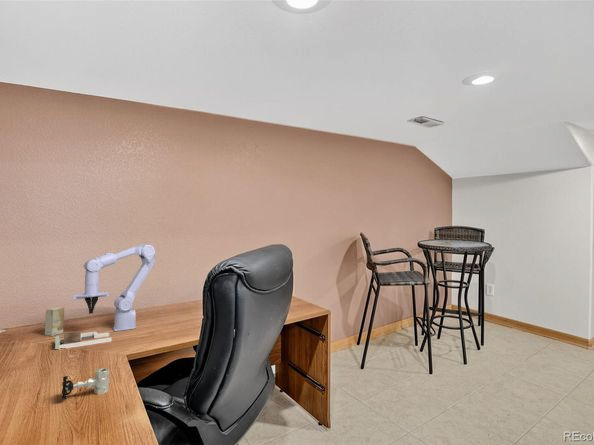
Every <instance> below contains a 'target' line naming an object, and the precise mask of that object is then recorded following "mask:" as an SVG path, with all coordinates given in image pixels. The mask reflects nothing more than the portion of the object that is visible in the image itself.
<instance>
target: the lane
mask: <svg viewBox="0 0 594 445" xmlns="http://www.w3.org/2000/svg"><path fill="white" fill-rule="evenodd" d="M80 333H81V340H84V341H80V342H77V343H70V344H64V338H61V337H60V335H55V340H54V344H55V345H54V346H55V347H54V350H55V349H59V350H61V349H60V348H66V349H70V348H77V347H84V346H90V345H97V344H104V343H110V342H112V338H113V337H110V332H102V333H98V331H90V332H80ZM93 338H94V339H93ZM86 339H90V340H86Z"/></svg>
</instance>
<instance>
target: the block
mask: <svg viewBox="0 0 594 445" xmlns="http://www.w3.org/2000/svg"><path fill="white" fill-rule="evenodd" d="M81 333H82V332H81V331H73V332H66V333H63V339H64V343H63V344H70V343H77V342H81V341H82V339H81Z"/></svg>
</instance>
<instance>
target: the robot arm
mask: <svg viewBox="0 0 594 445" xmlns="http://www.w3.org/2000/svg"><path fill="white" fill-rule="evenodd" d="M132 255H136V256H139V258H140V260H141V263H142V264H141V265H140V266H139V269H138V270H137V271H136V273H135V274H134V276H133V278H132V280H131V281H130V282H129V284H128V285H127V287H126V288H125V290H124V291H122V292H121V293H120V294H119V295H118V296H117V297H116V298H115V299H114V302H113V305H114V307H115V310H114V326H112V330H113V331H114V332H120V331H126V330H127V331H128V330H134V329H136V323H137V322H136V321H137V320H136V319H137V313H136V309H132V308H133V304H134V301H135V298H136V297H135V296H136V294H137V292H138V290H140V287H141V286H142V284H143V283H144V281H145V279H146V278H147V277H148V275H149V273H150V272H151V271H152V268H153V267H154V264H155V255H156V250H155V247H154V246H153V245H151V244H144V243H142V244H139V245H138V244H137V245H134V246H131V247H129V248H126V249H123V250H121V251H118V252H116V253H112V252H106V253H104V254H103V255H100V256H95V257H94V259H93V258H92V259H91V258H90V259H88V260H86V261H85V262H84V264H83V268H84V269H85V275H84V293H78V294H73V296H72V300H82V299H84V301H85V303H86V304H87V305H86V306H87V308H88V314H90V315H91V314H94V309H95V306H96V305H97V302H98V300H99V298H106V297H107V298H108V297H110V292H107V291H105V292H100V291H99V290H100V287H99V286H100V284H99V283H100V270H101V269H103V268H106V267H109V266H112V265H114V264H116V262H117V261H118V260H121V259H123V258H126V257H127V258H128V257H130V256H132Z"/></svg>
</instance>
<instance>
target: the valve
mask: <svg viewBox="0 0 594 445" xmlns="http://www.w3.org/2000/svg"><path fill="white" fill-rule="evenodd" d="M109 375H110V369H109V368H107V367H101V368H98V369H96V370H95V371H94V378H93V377H89V378H87V380H85V381H78V382H77V383H74V382H73V381H72V380H68V378H69V377H68V375H65V376H63V377H62V385H61V386H62V390H61V400H62V401H64V400H66V399H67V398H68V396H69V395H71V394H72V391H73V390H74V389H75V388H76V389H83V388H87V389H90V390H91V389H92V388H93V387H94V390H93V392H94V394H96V395H101V394H106V393H107V392H108V391H109V388H110V387H109V386H110V385H109V384H110V376H109Z"/></svg>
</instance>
